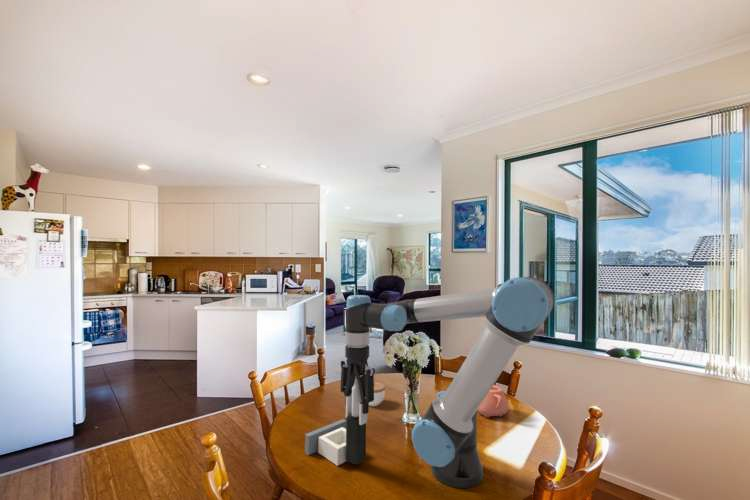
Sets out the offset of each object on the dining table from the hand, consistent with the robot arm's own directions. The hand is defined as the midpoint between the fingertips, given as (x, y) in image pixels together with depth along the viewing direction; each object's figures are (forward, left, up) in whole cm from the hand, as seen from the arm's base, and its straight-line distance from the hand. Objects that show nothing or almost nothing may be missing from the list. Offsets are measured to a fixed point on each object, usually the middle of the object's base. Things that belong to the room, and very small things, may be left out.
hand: (356, 419), depth 107 cm
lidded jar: (+29, -36, -14) cm, 48 cm away
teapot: (-11, -65, -14) cm, 67 cm away
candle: (0, 0, -12) cm, 12 cm away
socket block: (+8, 0, -13) cm, 16 cm away
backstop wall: (+15, 0, -13) cm, 20 cm away
